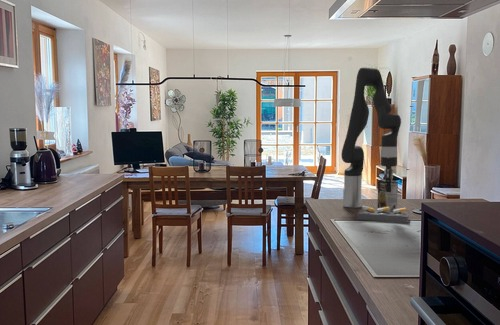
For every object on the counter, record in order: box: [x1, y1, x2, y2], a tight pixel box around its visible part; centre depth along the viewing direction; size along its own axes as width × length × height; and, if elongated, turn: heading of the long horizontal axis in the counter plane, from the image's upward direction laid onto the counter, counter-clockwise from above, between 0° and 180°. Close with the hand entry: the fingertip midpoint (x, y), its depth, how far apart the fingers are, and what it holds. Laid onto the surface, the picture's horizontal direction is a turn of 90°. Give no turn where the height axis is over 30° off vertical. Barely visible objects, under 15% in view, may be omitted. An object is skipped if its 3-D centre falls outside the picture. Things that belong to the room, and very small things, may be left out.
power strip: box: [356, 209, 410, 224], centre depth 228 cm, size 23×9×3 cm, turn 69°
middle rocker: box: [376, 207, 390, 212], centre depth 230 cm, size 6×4×2 cm, turn 69°
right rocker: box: [393, 207, 407, 213], centre depth 227 cm, size 6×4×2 cm, turn 69°
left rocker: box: [361, 204, 375, 212], centre depth 233 cm, size 6×4×2 cm, turn 69°
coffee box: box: [377, 179, 399, 212], centre depth 247 cm, size 9×6×16 cm
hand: (388, 191), depth 229 cm, fingers closed
